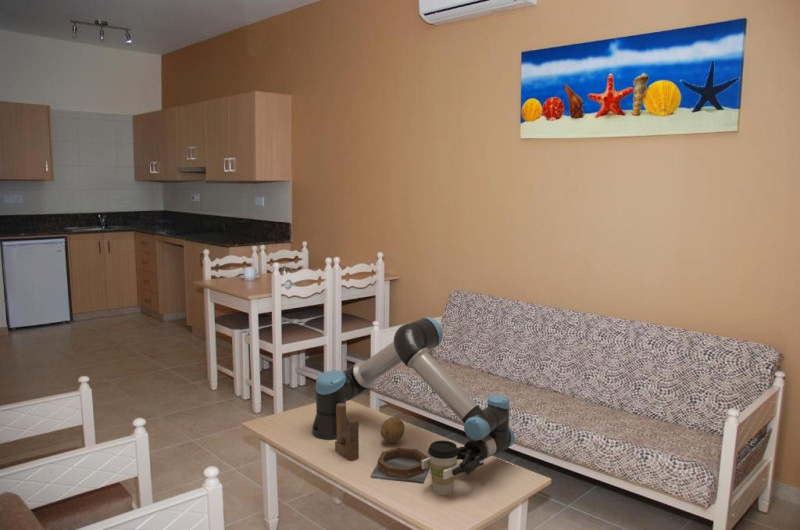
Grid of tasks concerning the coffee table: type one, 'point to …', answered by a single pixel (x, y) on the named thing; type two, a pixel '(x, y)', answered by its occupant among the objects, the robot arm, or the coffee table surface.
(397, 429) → the brown round lump
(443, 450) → the coffee cup
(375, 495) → the coffee table surface
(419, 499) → the coffee table surface
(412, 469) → the cup collar
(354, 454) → the wooden block
